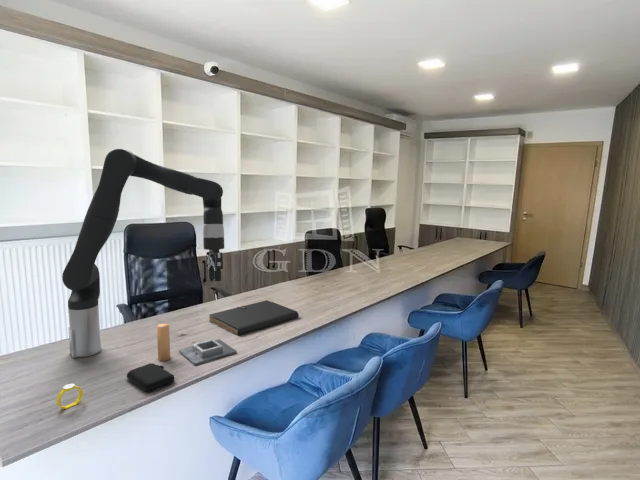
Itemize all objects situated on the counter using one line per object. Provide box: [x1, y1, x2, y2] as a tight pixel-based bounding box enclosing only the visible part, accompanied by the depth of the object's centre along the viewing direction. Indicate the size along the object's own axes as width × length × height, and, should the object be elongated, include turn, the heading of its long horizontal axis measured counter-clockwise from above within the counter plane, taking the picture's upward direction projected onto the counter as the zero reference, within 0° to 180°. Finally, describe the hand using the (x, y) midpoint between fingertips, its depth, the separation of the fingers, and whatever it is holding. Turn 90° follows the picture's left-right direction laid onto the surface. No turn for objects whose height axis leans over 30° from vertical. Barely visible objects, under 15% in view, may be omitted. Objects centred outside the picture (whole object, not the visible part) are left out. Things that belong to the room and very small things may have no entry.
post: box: [156, 323, 171, 362], centre depth 134 cm, size 4×4×12 cm
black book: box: [208, 299, 300, 337], centre depth 176 cm, size 33×4×24 cm
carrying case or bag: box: [126, 363, 176, 393], centre depth 120 cm, size 11×3×15 cm
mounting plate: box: [178, 338, 238, 366], centre depth 140 cm, size 16×14×3 cm
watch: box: [56, 383, 84, 410], centre depth 104 cm, size 6×3×6 cm, turn 148°
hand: (214, 280), depth 142 cm, fingers open, 8 cm apart
